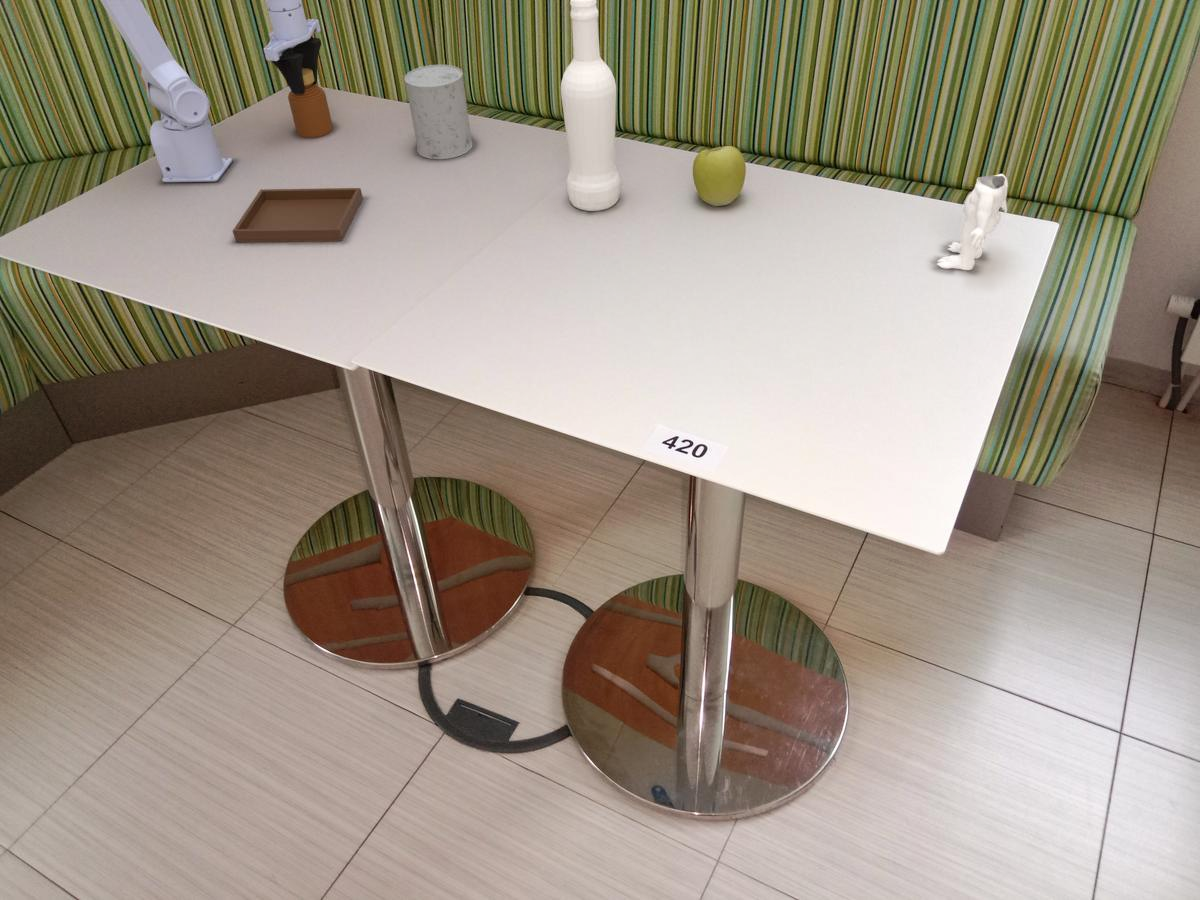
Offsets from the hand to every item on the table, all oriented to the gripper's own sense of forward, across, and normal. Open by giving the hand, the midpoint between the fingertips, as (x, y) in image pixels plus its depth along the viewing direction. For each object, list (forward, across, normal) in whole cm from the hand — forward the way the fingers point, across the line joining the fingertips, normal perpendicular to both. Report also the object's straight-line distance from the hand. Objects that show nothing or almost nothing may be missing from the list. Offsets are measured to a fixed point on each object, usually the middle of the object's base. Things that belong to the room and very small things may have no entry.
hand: (305, 88), depth 169 cm
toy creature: (+8, +20, +112) cm, 114 cm away
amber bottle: (+8, 0, 0) cm, 8 cm away
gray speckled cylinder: (+8, +2, +26) cm, 27 cm away
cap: (-2, 0, 0) cm, 2 cm away
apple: (+8, +10, +76) cm, 77 cm away
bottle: (+8, +14, +57) cm, 60 cm away
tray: (+8, +30, +15) cm, 35 cm away
